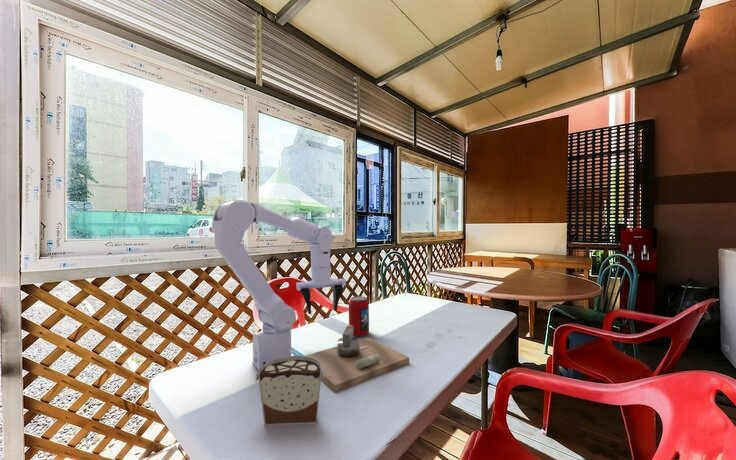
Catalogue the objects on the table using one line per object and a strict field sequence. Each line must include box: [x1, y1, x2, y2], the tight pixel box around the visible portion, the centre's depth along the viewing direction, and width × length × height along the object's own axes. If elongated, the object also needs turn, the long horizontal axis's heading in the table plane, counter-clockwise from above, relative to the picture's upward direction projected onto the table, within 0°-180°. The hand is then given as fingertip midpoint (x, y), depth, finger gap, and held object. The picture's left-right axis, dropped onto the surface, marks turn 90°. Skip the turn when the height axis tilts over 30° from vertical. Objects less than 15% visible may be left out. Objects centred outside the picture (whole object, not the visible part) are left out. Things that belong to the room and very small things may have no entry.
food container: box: [254, 355, 325, 427], centre depth 55 cm, size 12×6×10 cm, turn 92°
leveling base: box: [304, 337, 410, 393], centre depth 76 cm, size 22×18×4 cm
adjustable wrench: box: [291, 346, 305, 356], centre depth 86 cm, size 14×1×5 cm
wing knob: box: [336, 324, 360, 357], centre depth 79 cm, size 7×6×6 cm
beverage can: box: [348, 295, 370, 337], centre depth 98 cm, size 7×7×12 cm
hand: (322, 311), depth 88 cm, fingers open, 7 cm apart
